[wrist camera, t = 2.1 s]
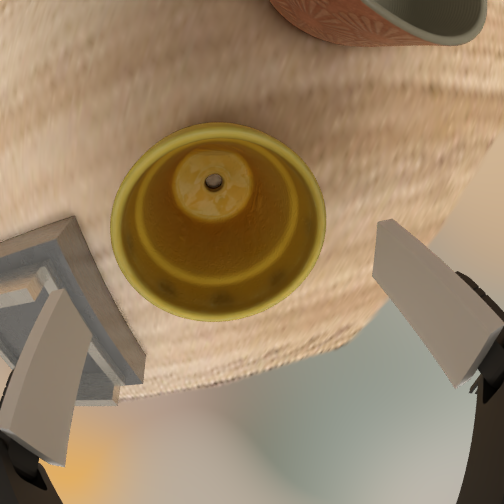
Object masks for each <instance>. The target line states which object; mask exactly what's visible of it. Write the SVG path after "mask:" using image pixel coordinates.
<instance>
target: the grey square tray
mask: <svg viewBox="0 0 504 504" xmlns="http://www.w3.org/2000/svg"><path fill="white" fill-rule="evenodd" d="M60 289H65V291H66V292H67V294H68V296H69V298H70V299H71V301H72V303H73V305H74V306H75V308H76V310H77V311H78V313H79V314H80V316H81V318H82V319H83V321H84V322H85V324H86V326H87V327H88V329H89V330H90V332H91V333H92V338H91V342H90V345H89V349H88V352H87V356H86V360H85V363H84V367H83V371H82V375H81V379H80V383H79V388H78V392H77V396H76V401H75V406H118V400H119V392H120V386H124V385H135V384H143V380H144V369H145V359H146V355H145V354H144V352H143V350H142V349H141V347H140V346H139V344H138V342H137V341H136V339H135V337H134V336H133V334H132V332H131V331H130V329H129V327H128V326H127V324H126V322H125V320H124V319H123V317H122V315H121V313H120V311H119V310H118V308H117V306H116V304H115V302H114V300H113V299H112V297H111V295H110V293H109V291H108V289H107V287H106V285H105V283H104V281H103V279H102V277H101V275H100V273H99V271H98V269H97V267H96V264H95V262H94V260H93V258H92V256H91V254H90V251H89V249H88V247H87V245H86V242H85V240H84V238H83V235H82V233H81V230H80V228H79V225H78V223H77V220H76V218H75V216H73V217H70V218H67V219H64V220H61V221H58V222H55V223H52V224H49V225H46V226H43V227H41V228H38V229H35V230H32V231H30V232H27V233H24V234H22V235H19V236H16V237H14V238H11V239H9V240H6V241H4V242H1V243H0V356H1V357H2V359H3V360H4V361H5V362H6V363H7V364H8V365H9V367H10V368H11V369H12V370H13V369H14V368H15V366H16V364H17V362H18V359H19V357H20V355H21V352H22V350H23V348H24V345H25V343H26V341H27V339H28V336H29V334H30V332H31V330H32V328H33V326H34V324H35V322H36V320H37V318H38V316H39V314H40V312H41V310H42V308H43V306H44V304H45V302H46V300H47V299H48V297H49V295H50V293H51V291H55V290H60Z"/></svg>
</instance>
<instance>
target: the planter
mask: <svg viewBox="0 0 504 504" xmlns="http://www.w3.org/2000/svg"><path fill="white" fill-rule="evenodd" d="M269 1H270V2H271V4H272V5H273V6H274V7H275V9H276V10H277V11H278V12H279V13H280V14H281V15H282V16H283V17H284V18H286V19H287V20H288V21H289V22H290V23H292V24H293V25H294V26H296V27H297V28H299V29H301V30H302V31H304V32H306V33H308V34H310V35H312V36H314V37H316V38H319V39H322V40H325V41H328V42H332V43H336V44H341V45H348V46H365V47H375V46H407V45H438V46H458V45H462V44H465V43H468V42H470V41H471V40H473V39H474V38H475V37H476V36H477V35H478V34H479V33H480V31H481V30H482V28H483V26H484V23H485V20H486V15H487V0H269Z"/></svg>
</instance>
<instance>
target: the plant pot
mask: <svg viewBox="0 0 504 504" xmlns="http://www.w3.org/2000/svg"><path fill="white" fill-rule="evenodd" d="M212 174H218V175H220V176H221V178H222V184H221V186H220V187H219V188H217V189H211V188H208V187H207V186H206V184H205V180H206V178H207V177H208V176H210V175H212ZM325 232H326V210H325V203H324V199H323V195H322V192H321V189H320V187H319V185H318V183H317V180H316V178H315V177H314V175H313V173H312V172H311V170H310V169H309V167H308V166H307V165H306V163H305V162H304V161H303V160H302V159H301V158H300V157H299V156H298V155H297V154H296V153H295V152H294V151H292V150H291V149H290V148H289V147H287V146H286V145H285V144H283V143H282V142H280V141H278V140H277V139H275V138H273V137H271V136H270V135H268V134H266V133H263V132H261V131H259V130H256V129H254V128H251V127H247V126H244V125H239V124H234V123H225V122H211V123H203V124H197V125H193V126H190V127H186V128H184V129H181V130H179V131H176V132H174V133H172V134H170V135H169V136H167V137H165V138H163V139H162V140H160V141H159V142H158V143H156V144H155V145H154V146H153V147H151V148H150V149H149V150H148V151H147V152H146V153H145V154H144V155H143V156H142V157H141V158H140V159H139V160H138V161H137V162H136V163H135V164H134V166H133V167H132V168H131V169H130V171H129V172H128V174H127V175H126V177H125V178H124V180H123V182H122V183H121V185H120V188H119V190H118V192H117V194H116V197H115V200H114V204H113V208H112V213H111V221H110V235H111V244H112V248H113V252H114V255H115V258H116V261H117V263H118V265H119V267H120V269H121V271H122V273H123V274H124V276H125V277H126V279H127V280H128V282H129V283H130V284H131V285H132V287H133V288H134V289H135V290H136V291H137V292H138V293H139V294H140V295H142V296H143V297H144V298H145V299H146V300H148V301H149V302H150V303H152V304H153V305H155V306H157V307H158V308H160V309H162V310H164V311H166V312H168V313H171V314H173V315H176V316H179V317H182V318H186V319H191V320H196V321H206V322H221V321H230V320H236V319H241V318H245V317H249V316H252V315H255V314H257V313H260V312H262V311H265V310H267V309H269V308H270V307H272V306H274V305H276V304H277V303H279V302H280V301H282V300H283V299H285V298H286V297H287V296H289V295H290V294H291V293H292V292H293V291H294V290H295V289H296V288H297V287H298V286H299V285H300V284H301V283H302V282H303V281H304V280H305V278H306V277H307V276H308V275H309V273H310V272H311V270H312V269H313V267H314V265H315V263H316V261H317V259H318V257H319V255H320V252H321V249H322V246H323V242H324V238H325Z"/></svg>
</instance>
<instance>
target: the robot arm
mask: <svg viewBox="0 0 504 504" xmlns="http://www.w3.org/2000/svg"><path fill="white" fill-rule="evenodd" d="M372 277H373V278H374V279H375V280H376V281H377V283H378V284H379V285H380V286H381V288H382V289H383V290H384V291H385V293H386V294H387V295H388V296H389V298H390V299H391V300H392V301H393V303H394V304H395V305H396V307H397V308H398V309H399V310H400V312H401V313H402V314H403V315H404V317H405V318H406V320H407V321H408V322H409V323H410V325H411V326H412V327H413V329H414V330H415V331H416V333H417V334H418V336H419V337H420V338H421V340H422V341H423V343H424V344H425V345H426V347H427V348H428V349H429V351H430V352H431V354H432V355H433V357H434V358H435V359H436V361H437V362H438V364H439V365H440V366H441V368H442V370H443V371H444V373H445V374H446V376H447V377H448V378H449V380H450V382H451V383H452V384H453V386H454V388H455V389H456V388H458V387H459V386H461V385H462V384H464V383H465V382H467V381H468V380H470V378H471V377H472V376H473V375H474V373H475V372H476V370H477V369H478V370H479V371H480V373H481V374H480V376H479V377H478V378H477V380H476V381H475V383H474V384H473V385H472V386H471V388H470V392H469V393H472V392H473V391H474V390H475V388H476V387H477V386H478V389H477V391H476V392H475V394H477V404H476V414H475V422H474V429H473V436H472V442H471V448H470V453H469V458H468V462H467V467H466V471H465V475H464V479H463V483H462V487H461V490H460V493H459V497H458V500H457V503H456V504H504V312H503V311H502V310H501V309H500V307H499V306H498V305H497V304H496V303H495V302H494V301H493V300H492V299H491V298H490V297H489V296H488V295H486V294H485V292H484V291H483V290H482V289H481V288H479V287H478V285H477V284H476V283H475V282H474V281H472V279H470V278H469V277H468V276H466V275H464V274H462V273H460V272H458V271H457V272H454V271H453V270H452V269H451V268H450V267H449V266H448V265H446V264H445V263H444V262H443V261H442V260H441V259H440V258H439V257H437V256H436V255H435V254H434V253H433V252H432V251H431V250H430V249H428V248H427V247H426V246H425V245H424V244H423V243H421V242H420V241H419V240H418V239H417V238H415V237H414V236H413V235H412V234H411V233H409V232H408V231H407V230H406V229H404V228H403V227H402V226H401V225H399V224H398V223H397V222H396V221H394V220H393V219H389V220H384V221H380V222H378V223H377V235H376V246H375V256H374V265H373V273H372ZM91 338H92V333H91V332H90V330H89V329H88V327H87V326H86V324H85V322H84V321H83V319H82V318H81V316H80V314H79V313H78V311H77V310H76V308H75V306H74V305H73V303H72V301H71V299H70V298H69V296H68V294H67V292H66V291H65V289H60V290H55V291H51V293H50V295H49V297H48V299H47V300H46V302H45V304H44V306H43V308H42V310H41V312H40V314H39V316H38V318H37V320H36V322H35V324H34V326H33V328H32V330H31V332H30V334H29V336H28V339H27V341H26V343H25V345H24V348H23V350H22V352H21V355H20V357H19V359H18V362H17V364H16V366H15V368H14V369H13V370H12V372H11V373H10V376H9V378H8V381H7V383H6V387H5V389H4V392H3V396H2V398H1V401H0V504H63V503H62V501H61V499H60V498H59V496H58V494H57V492H56V490H55V489H54V487H53V485H52V483H51V481H50V479H49V477H48V475H47V473H46V471H45V469H44V467H43V466H42V465H41V464H40V463H38V461H39V458H41V459H42V460H44V461H46V462H47V463H49V464H52V465H57V466H62V467H65V462H66V454H67V446H68V440H69V433H70V427H71V422H72V416H73V410H74V406H75V401H76V396H77V392H78V388H79V383H80V379H81V375H82V371H83V367H84V363H85V360H86V356H87V352H88V349H89V345H90V342H91Z"/></svg>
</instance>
